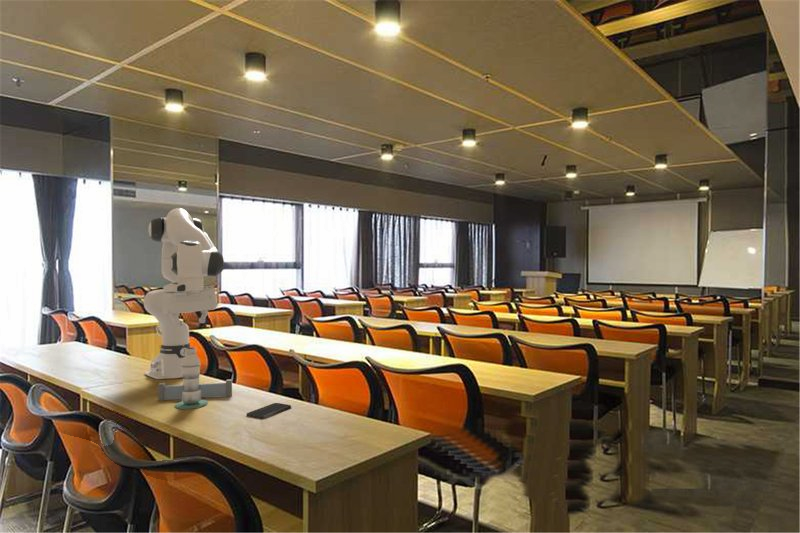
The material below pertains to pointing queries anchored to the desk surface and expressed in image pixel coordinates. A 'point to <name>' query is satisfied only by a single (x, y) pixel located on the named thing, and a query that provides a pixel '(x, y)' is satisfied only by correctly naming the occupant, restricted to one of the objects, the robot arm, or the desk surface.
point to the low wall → (206, 389)
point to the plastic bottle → (191, 377)
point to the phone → (268, 410)
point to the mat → (191, 405)
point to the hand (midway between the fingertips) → (190, 324)
